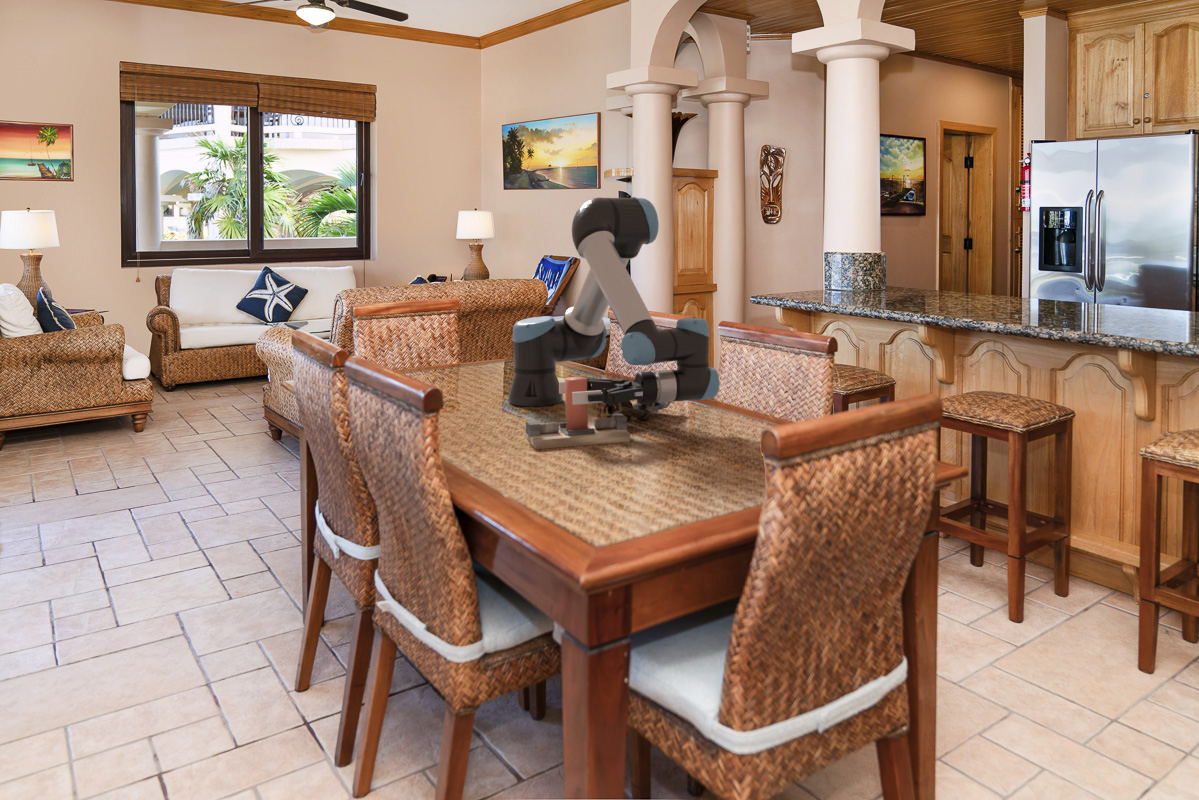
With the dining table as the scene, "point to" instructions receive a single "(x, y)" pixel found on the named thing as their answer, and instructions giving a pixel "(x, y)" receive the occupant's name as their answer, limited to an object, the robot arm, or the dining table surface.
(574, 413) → the red tall block
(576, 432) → the beige and grey fixture
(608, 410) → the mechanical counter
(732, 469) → the dining table surface
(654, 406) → the mineral specimen
